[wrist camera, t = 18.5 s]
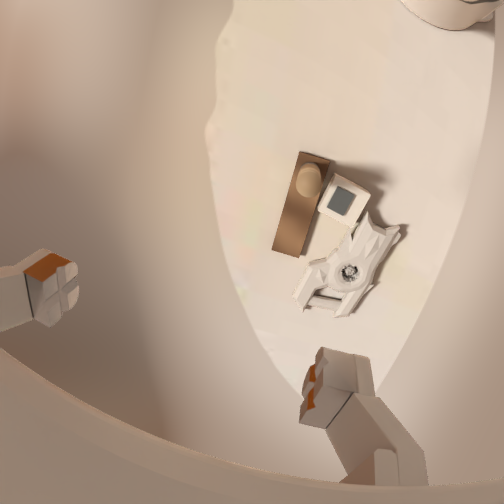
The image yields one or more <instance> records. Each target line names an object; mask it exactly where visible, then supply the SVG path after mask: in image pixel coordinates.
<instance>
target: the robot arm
mask: <svg viewBox="0 0 504 504" xmlns="http://www.w3.org/2000/svg"><path fill="white" fill-rule="evenodd" d="M401 2H402V3H403V4H404V5H405V6H406V7H407V8H408V9H409V10H410V11H412V12H413V13H414V14H415V15H417V16H418V17H419V18H421V19H423V20H424V21H426V22H428V23H430V24H432V25H434V26H437V27H440V28H443V29H447V30H462V29H465V28H468V27H470V26H471V25H473V24H474V23H476V22H487V21H490V20H491V19H492V18H493V11H494V10H496V9H497V8H498V7H500V6H501V5H502V4H504V0H401ZM77 275H78V270H77V265H76V264H75V263H74V262H72V261H70V260H68V259H66V258H64V257H62V256H59V255H57V254H55V253H53V252H50V251H48V250H46V249H40V250H38V251H37V252H35V253H34V254H32V255H30V256H29V257H27V258H26V259H24V260H22V261H21V262H19V263H18V264H16V265H15V266H13V267H12V266H5V267H0V332H2V331H5V330H7V329H10V328H12V327H15V326H17V325H20V324H22V323H25V322H28V321H30V320H33V319H35V320H37V321H39V322H41V323H42V324H44V325H46V326H48V327H50V328H51V327H52V326H53V325H54V324H55V323H56V322H57V321H58V320H59V319H60V318H61V317H62V312H63V311H67V310H69V309H71V308H72V307H73V306H74V305H75V303H76V301H77V299H78V295H79V285H78V283H77V281H76V279H75V277H76V276H77ZM302 396H303V397H304V401H303V403H302V405H301V407H300V417H299V423H301V424H305V425H309V426H313V427H318V428H322V429H326V430H325V431H326V433H327V435H328V437H329V439H330V441H331V443H332V445H333V447H334V449H335V451H336V453H337V455H338V457H339V459H340V460H341V462H342V464H343V466H344V468H345V470H346V472H347V474H348V476H346V477H345V478H344V479H343V480H341V481H340V482H339V483H337V482H328V481H321V480H314V479H307V478H301V477H295V476H290V475H285V474H280V473H275V472H270V471H265V470H261V469H257V468H253V467H248V466H245V465H241V464H237V463H233V462H230V461H226V460H222V459H219V458H216V457H213V456H209V455H206V454H203V453H200V452H197V451H194V450H191V449H188V448H185V447H182V446H180V445H177V444H174V443H172V442H169V441H167V440H164V439H161V438H159V437H156V436H154V435H151V434H149V433H147V432H144V431H142V430H139V429H137V428H135V427H133V426H131V425H128V424H126V423H124V422H122V421H120V420H118V419H116V418H114V417H111V416H110V415H107V414H105V413H103V412H101V411H100V410H98V409H96V408H94V407H92V406H90V405H88V404H86V403H84V402H83V401H81V400H79V399H77V398H76V397H74V396H72V395H70V394H69V393H67V392H65V391H63V390H62V389H60V388H58V387H57V386H55V385H53V384H52V383H50V382H49V381H47V380H46V379H44V378H42V377H41V376H39V375H38V374H36V373H35V372H33V371H32V370H31V369H29V368H28V367H26V366H25V365H23V364H22V363H20V362H19V361H18V360H16V359H15V358H13V357H12V356H10V355H9V354H8V353H7V352H5V351H4V350H3V349H1V348H0V504H504V477H502V478H497V479H491V480H484V481H477V482H471V483H470V482H469V483H461V484H449V485H434V486H429V484H428V476H427V470H426V463H425V457H424V451H423V450H422V449H421V447H420V446H419V445H418V444H417V442H416V441H415V440H414V439H413V438H412V436H411V435H410V434H409V433H408V431H406V429H405V428H404V427H403V425H402V424H401V423H400V422H399V421H398V419H397V418H396V417H395V416H394V415H393V413H392V412H391V411H390V410H389V408H388V407H387V406H386V405H385V404H384V402H383V401H382V400H381V399H380V398H379V397H375V391H374V384H373V377H372V371H371V364H370V359H369V358H368V357H365V356H360V355H356V354H349V353H345V352H341V351H337V350H333V349H329V348H325V347H321V348H320V349H319V350H318V352H317V354H316V358H315V364H314V365H312V366H310V368H309V370H308V372H307V374H306V377H305V380H304V383H303V388H302Z"/></svg>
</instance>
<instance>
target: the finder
mask: <svg viewBox="0 0 504 504" xmlns="http://www.w3.org/2000/svg"><path fill="white" fill-rule="evenodd" d="M370 196H371V194H370V193H369V192H368V190H366V189H364V188H363V187H361V186H359V185H357V184H355V183H353V182H352V181H350V180H348V179H346V178H344V177H342V176H340V175H338V174H336V173H335V172H334V174H333V176H332V178H331V180H330V182H329V184H328V186H327V188H326V190H325V192H324V194H323V196H322V198H321V200H320V201H319V203H318V211H319V212H321V213H323V214H325V215H327V216H329V217H331V218H333V219H335V220H337V221H339V222H341V223H342V224H344V225H346V226H348V227H350V228H353V226H354V224H355V223H356V221H357V219H358V217H359V216H360V214H361V212H362V210H363V209H364V207H365V205H366V203H367V201H368V200H369V198H370Z"/></svg>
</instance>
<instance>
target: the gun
mask: <svg viewBox="0 0 504 504" xmlns="http://www.w3.org/2000/svg"><path fill="white" fill-rule="evenodd" d="M399 229H400V227H399V225H396V226H392V227H388V228H383V227H381V226H379V225H377V224H375V223H373V222H372V220H371V218H370V216H369V214H368V211H367V210H366V212H365V214H364V215H363V217H362V219H361V221H360V223H359V225H358V227H357V229H356V231H355V233H354V234H353V236H352V238H351V232H350V227H349V229H348V231H347V233H346V234H345V236H344V238H343V240H342V241H341V243H340V245H339V247H338V248H335V249H334V250H333V251H332V252H331V254H330V255H329V256H328V257H327V258H324V259H320V260H316V261H311V262H309V263H308V265H307V267H306V269H305V271H304V273H303V275H302V277H301V279H300V281H299V283H298V284H297V286H296V288H295V290H294V292H293V299H294V300H295V302H296V303H297V305H298V306H299V308H300V309H301V311H302V312H303V311H304V310H305V308H306V306H307V305H310V306H314V307H319V308H324V309H329V310H333V311H334V312H333V314H332V315H333V318H337V317H347V316H350V314H351V313H352V311H353V310H354V308H355V307H356V305H357V304H358V302H359V301H360V299H361V298H362V296H363V295H364V294H365V293H366V292H367V291H368V290H369V289H370V288H372V287H373V286H374V284H372V283H373V282H372V280H373V277H374V274H375V270H376V268H377V267H378V265H379V263H380V262H382V261H383V260H384V258H385V256H386V255H387V253H388V251H389V250H390V248H391V246H392V245H394V244H395V243H397V242H398V240H399V238H400V236H401V234H400V233H399V232H398V231H399ZM355 266H356V267H357V271H355V268H354V267H355ZM342 269H344V271H345V272H343V271H342ZM325 287H330V288H332V289H334V290H335V291H337V292H345V295H344V296H343V298H342V300H336V299H331V298H326V297H321V296H316V295H313V294H314V293H315V291H316V290H317V289H321V288H325Z"/></svg>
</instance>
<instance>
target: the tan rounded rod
mask: <svg viewBox="0 0 504 504" xmlns="http://www.w3.org/2000/svg"><path fill="white" fill-rule="evenodd" d="M296 188H297V191H298V192H299V193H300V194H301V195H302V196H304V197H314V196H316V195H317V194H319V192H320V191H321V188H322V181H321V174H320V169H319V167H318V165H317V164H315V163H313V162H306V163H304V164H303V165H302V166H301V167H300V171H299V174H298V177H297V181H296Z"/></svg>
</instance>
